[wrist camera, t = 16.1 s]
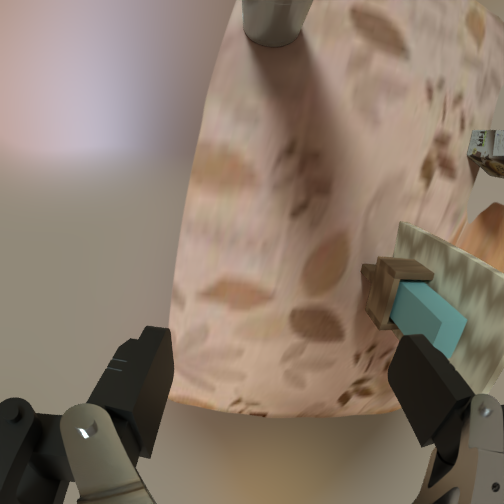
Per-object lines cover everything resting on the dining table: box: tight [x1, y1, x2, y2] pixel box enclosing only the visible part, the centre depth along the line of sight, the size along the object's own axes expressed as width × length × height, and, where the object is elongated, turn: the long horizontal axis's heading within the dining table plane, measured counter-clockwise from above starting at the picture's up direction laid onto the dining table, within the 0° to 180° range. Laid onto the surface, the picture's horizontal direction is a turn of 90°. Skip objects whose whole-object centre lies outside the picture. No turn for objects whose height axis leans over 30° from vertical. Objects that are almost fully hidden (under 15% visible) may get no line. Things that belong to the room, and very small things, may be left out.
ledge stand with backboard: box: [361, 221, 504, 395], centre depth 33 cm, size 18×9×30 cm, turn 176°
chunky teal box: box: [390, 279, 467, 359], centre depth 32 cm, size 6×4×15 cm
